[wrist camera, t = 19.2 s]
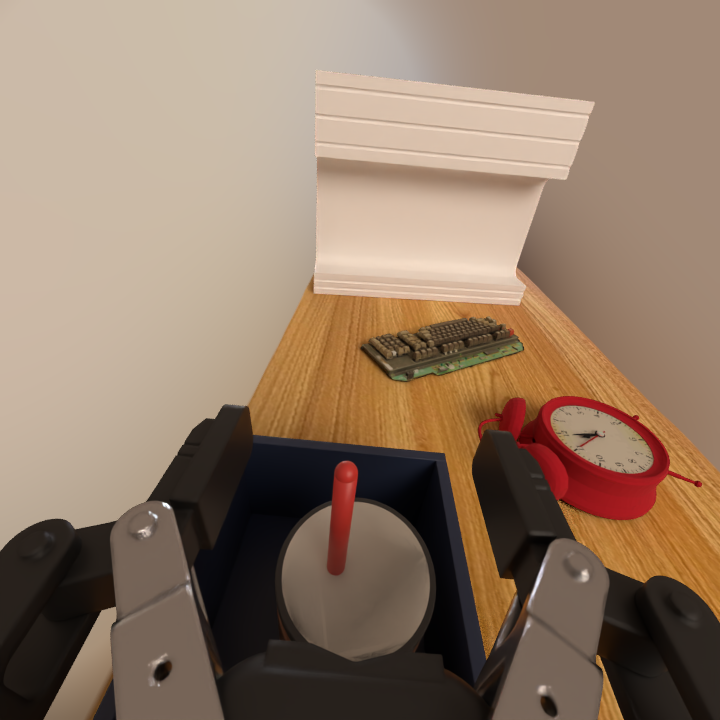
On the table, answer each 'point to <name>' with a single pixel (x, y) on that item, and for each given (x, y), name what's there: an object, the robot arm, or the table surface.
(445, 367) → the keyboard
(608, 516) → the alarm clock
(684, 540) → the table surface
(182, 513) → the robot arm
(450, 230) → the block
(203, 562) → the bin
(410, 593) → the paper cup
